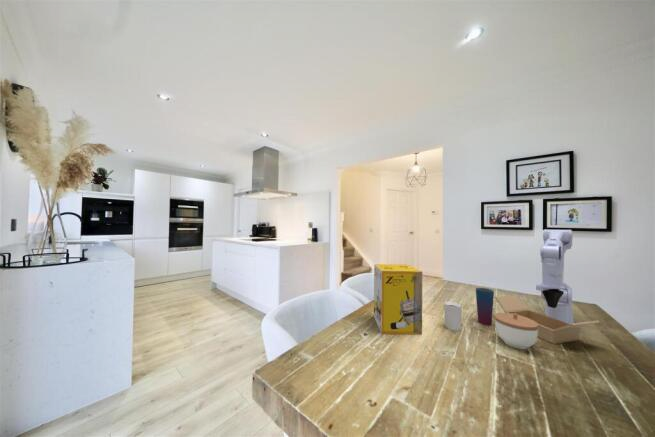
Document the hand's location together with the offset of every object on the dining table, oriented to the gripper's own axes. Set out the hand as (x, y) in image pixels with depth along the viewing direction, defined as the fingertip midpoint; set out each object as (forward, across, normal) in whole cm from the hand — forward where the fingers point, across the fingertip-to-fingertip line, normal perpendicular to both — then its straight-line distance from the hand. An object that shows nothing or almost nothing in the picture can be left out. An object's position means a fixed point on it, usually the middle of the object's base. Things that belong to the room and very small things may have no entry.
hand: (552, 307), depth 93 cm
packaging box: (+11, -61, +19) cm, 65 cm away
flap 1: (+3, -4, +13) cm, 14 cm away
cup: (+11, -20, +13) cm, 26 cm away
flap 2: (+3, -4, -10) cm, 11 cm away
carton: (+10, -4, +2) cm, 11 cm away
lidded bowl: (+11, -25, -4) cm, 27 cm away
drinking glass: (+11, -38, +12) cm, 41 cm away
